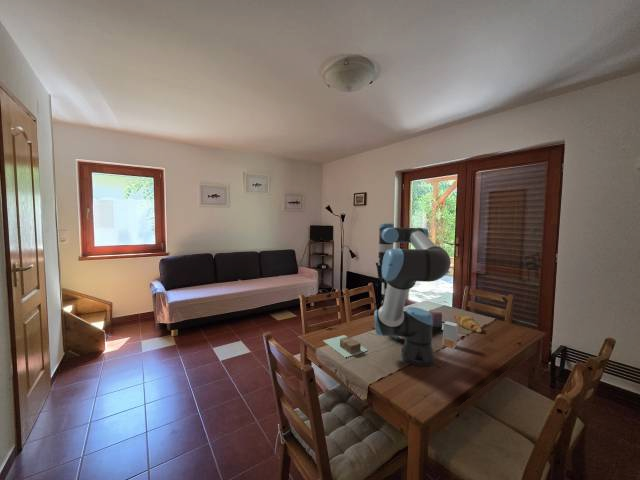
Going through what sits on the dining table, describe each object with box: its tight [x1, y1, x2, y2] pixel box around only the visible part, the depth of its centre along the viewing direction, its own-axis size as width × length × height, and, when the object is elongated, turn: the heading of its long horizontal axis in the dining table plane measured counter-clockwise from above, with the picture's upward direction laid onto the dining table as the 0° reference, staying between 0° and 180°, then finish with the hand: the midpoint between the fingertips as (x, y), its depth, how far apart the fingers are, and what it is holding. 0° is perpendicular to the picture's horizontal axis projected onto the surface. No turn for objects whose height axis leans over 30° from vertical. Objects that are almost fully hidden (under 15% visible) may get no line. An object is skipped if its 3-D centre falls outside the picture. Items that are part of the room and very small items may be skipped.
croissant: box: [454, 314, 482, 333], centre depth 166 cm, size 21×10×8 cm, turn 14°
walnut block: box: [340, 336, 362, 354], centre depth 135 cm, size 4×6×9 cm
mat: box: [322, 334, 369, 359], centre depth 139 cm, size 20×14×1 cm
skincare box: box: [441, 320, 459, 349], centre depth 140 cm, size 6×4×12 cm
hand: (384, 294), depth 148 cm, fingers closed
